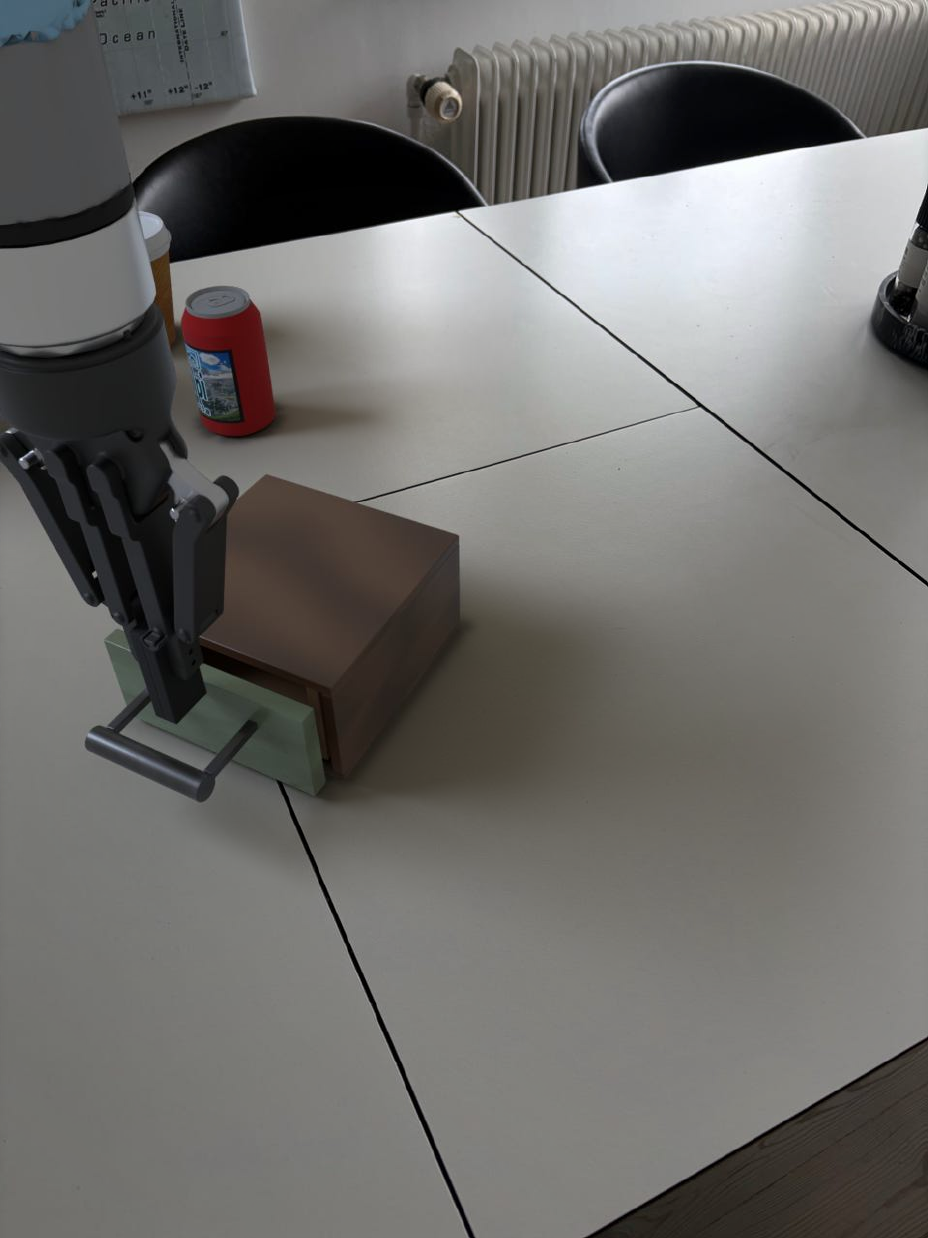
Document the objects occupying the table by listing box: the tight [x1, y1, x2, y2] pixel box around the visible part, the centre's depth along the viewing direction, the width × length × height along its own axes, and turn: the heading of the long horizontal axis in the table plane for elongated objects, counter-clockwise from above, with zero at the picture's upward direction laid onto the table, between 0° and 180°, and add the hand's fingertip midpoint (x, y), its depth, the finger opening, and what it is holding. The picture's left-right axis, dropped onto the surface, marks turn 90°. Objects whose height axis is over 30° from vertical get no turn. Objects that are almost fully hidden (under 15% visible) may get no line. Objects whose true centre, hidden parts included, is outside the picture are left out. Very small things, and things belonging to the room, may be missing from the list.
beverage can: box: [180, 285, 276, 437], centre depth 88 cm, size 7×7×12 cm
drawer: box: [84, 628, 331, 803], centre depth 63 cm, size 20×14×7 cm
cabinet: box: [198, 473, 461, 781], centre depth 67 cm, size 16×16×9 cm
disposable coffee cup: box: [138, 210, 177, 347], centre depth 100 cm, size 10×10×12 cm
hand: (181, 703), depth 57 cm, fingers closed
